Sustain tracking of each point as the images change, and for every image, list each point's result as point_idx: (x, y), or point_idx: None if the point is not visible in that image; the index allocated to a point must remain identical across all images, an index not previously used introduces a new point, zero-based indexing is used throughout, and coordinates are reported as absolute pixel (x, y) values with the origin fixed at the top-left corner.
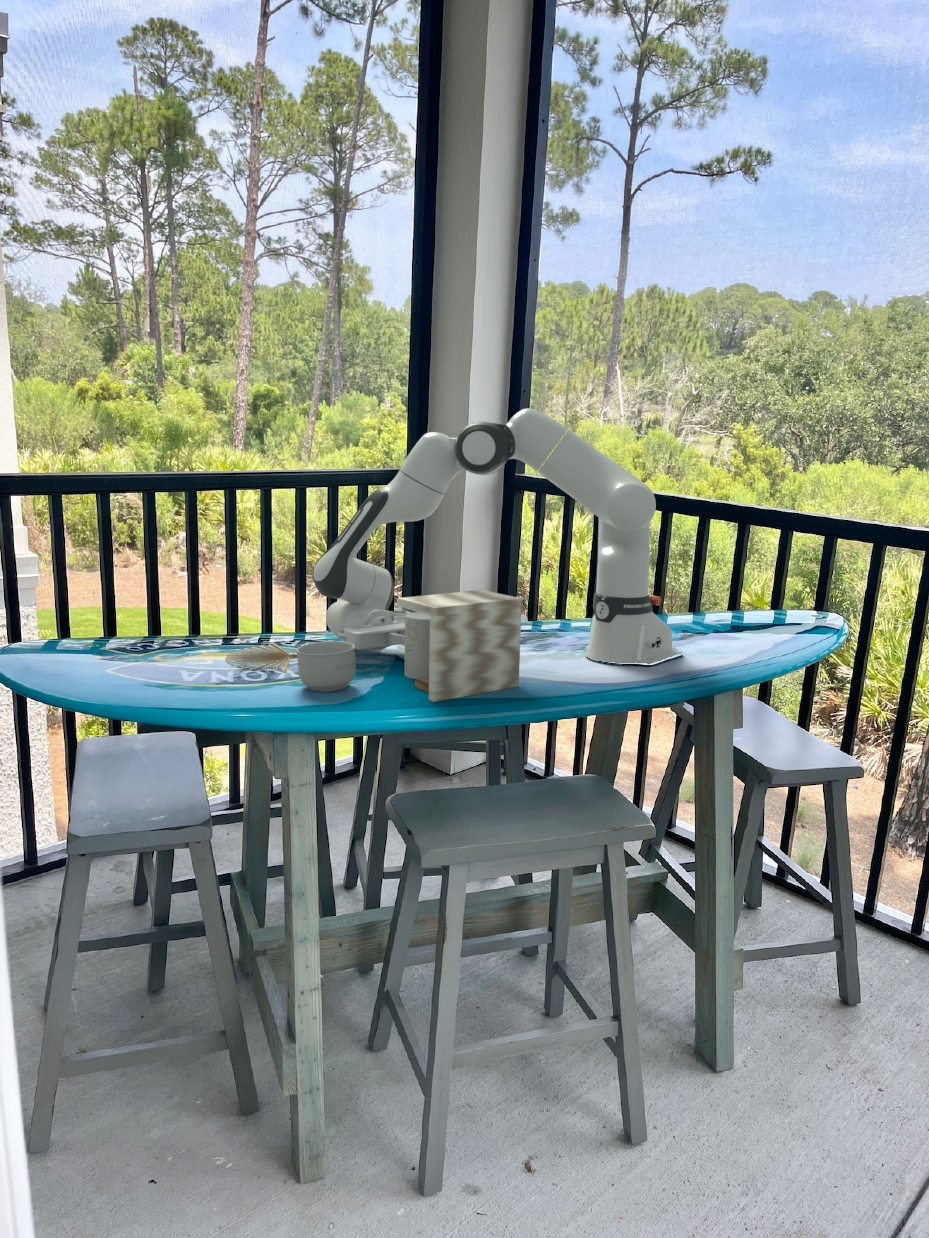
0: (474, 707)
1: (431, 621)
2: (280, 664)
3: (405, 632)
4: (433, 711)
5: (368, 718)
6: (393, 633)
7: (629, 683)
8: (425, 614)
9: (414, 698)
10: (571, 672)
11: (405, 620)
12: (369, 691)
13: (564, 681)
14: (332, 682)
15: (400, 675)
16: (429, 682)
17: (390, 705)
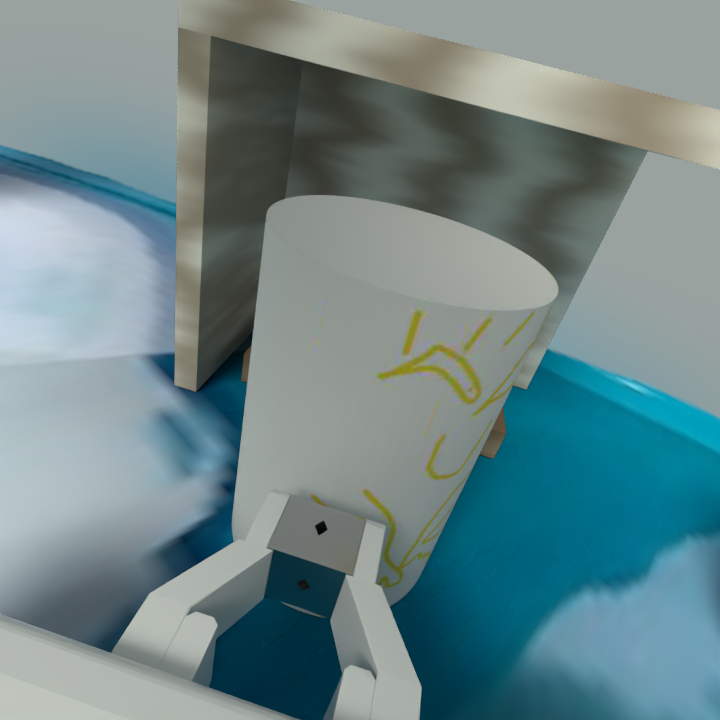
0: None
1: (634, 171)
2: None
3: (506, 398)
4: (557, 361)
5: (714, 423)
6: (380, 691)
7: (110, 204)
8: (388, 243)
9: (552, 416)
10: (38, 250)
11: (540, 328)
12: (667, 544)
13: (155, 256)
14: None
15: (433, 600)
16: (546, 348)
17: (637, 430)
